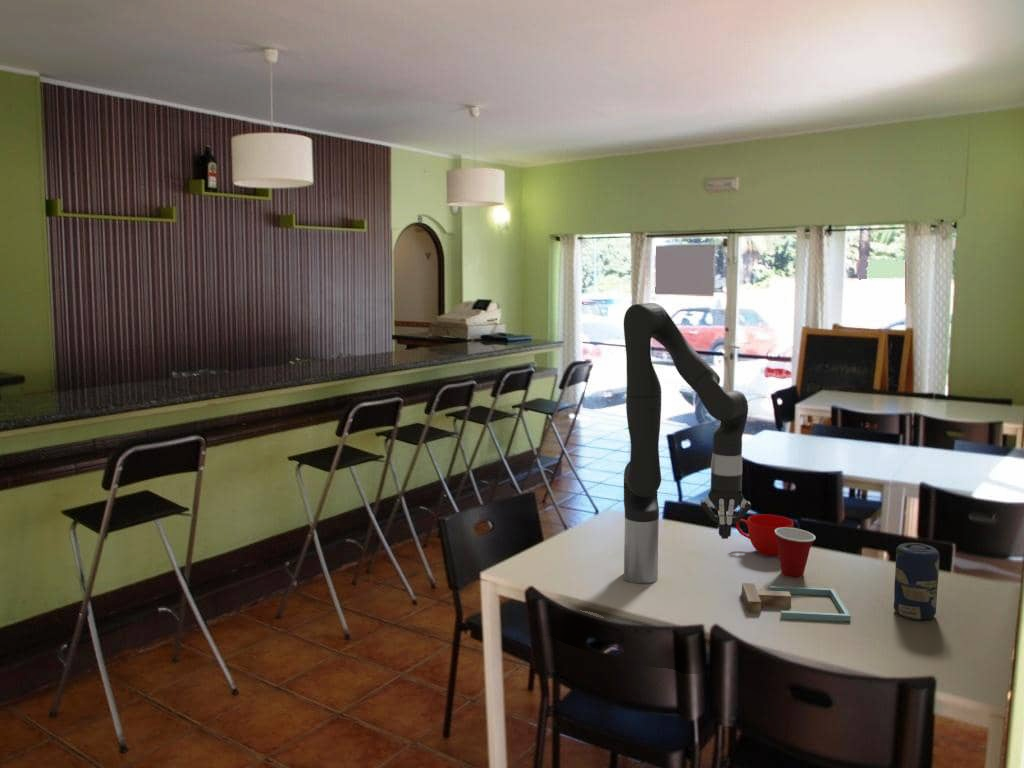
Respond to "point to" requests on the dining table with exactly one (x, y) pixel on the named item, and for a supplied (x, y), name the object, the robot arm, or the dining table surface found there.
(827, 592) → the dock
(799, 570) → the plastic cup
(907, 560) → the canister
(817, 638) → the dining table surface
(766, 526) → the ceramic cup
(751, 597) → the t block
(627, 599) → the dining table surface
